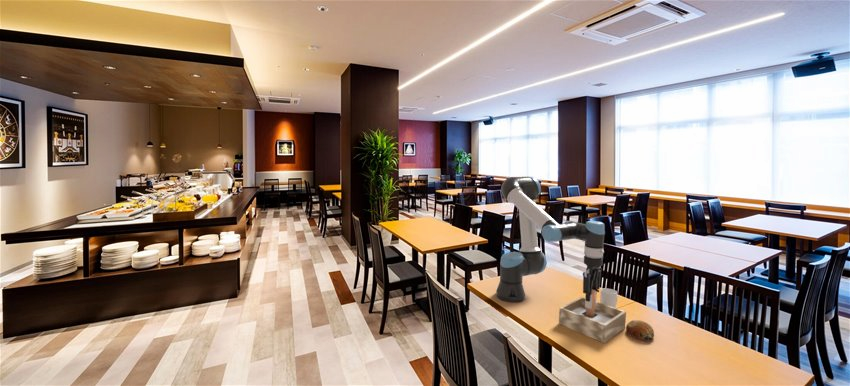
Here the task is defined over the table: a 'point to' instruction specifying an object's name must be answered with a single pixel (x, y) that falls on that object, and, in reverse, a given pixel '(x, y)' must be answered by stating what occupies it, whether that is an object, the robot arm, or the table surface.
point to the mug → (608, 297)
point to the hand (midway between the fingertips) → (590, 306)
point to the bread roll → (640, 330)
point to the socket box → (593, 319)
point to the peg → (592, 311)
